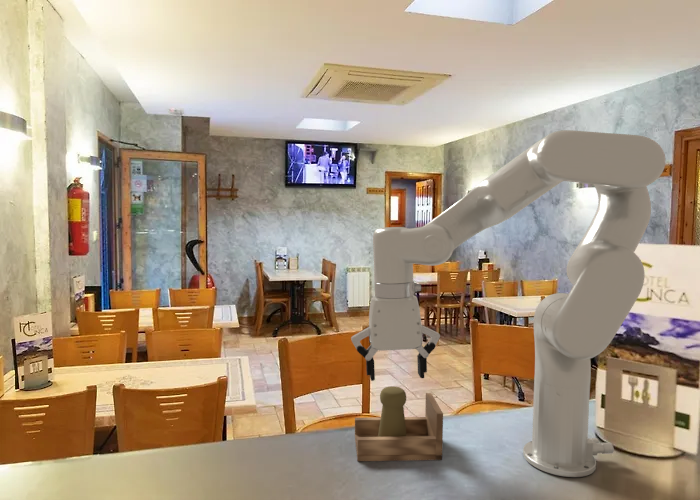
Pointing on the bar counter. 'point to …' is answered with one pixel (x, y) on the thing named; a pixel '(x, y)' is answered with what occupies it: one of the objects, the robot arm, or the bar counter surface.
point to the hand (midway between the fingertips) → (396, 377)
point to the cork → (392, 412)
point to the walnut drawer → (415, 446)
